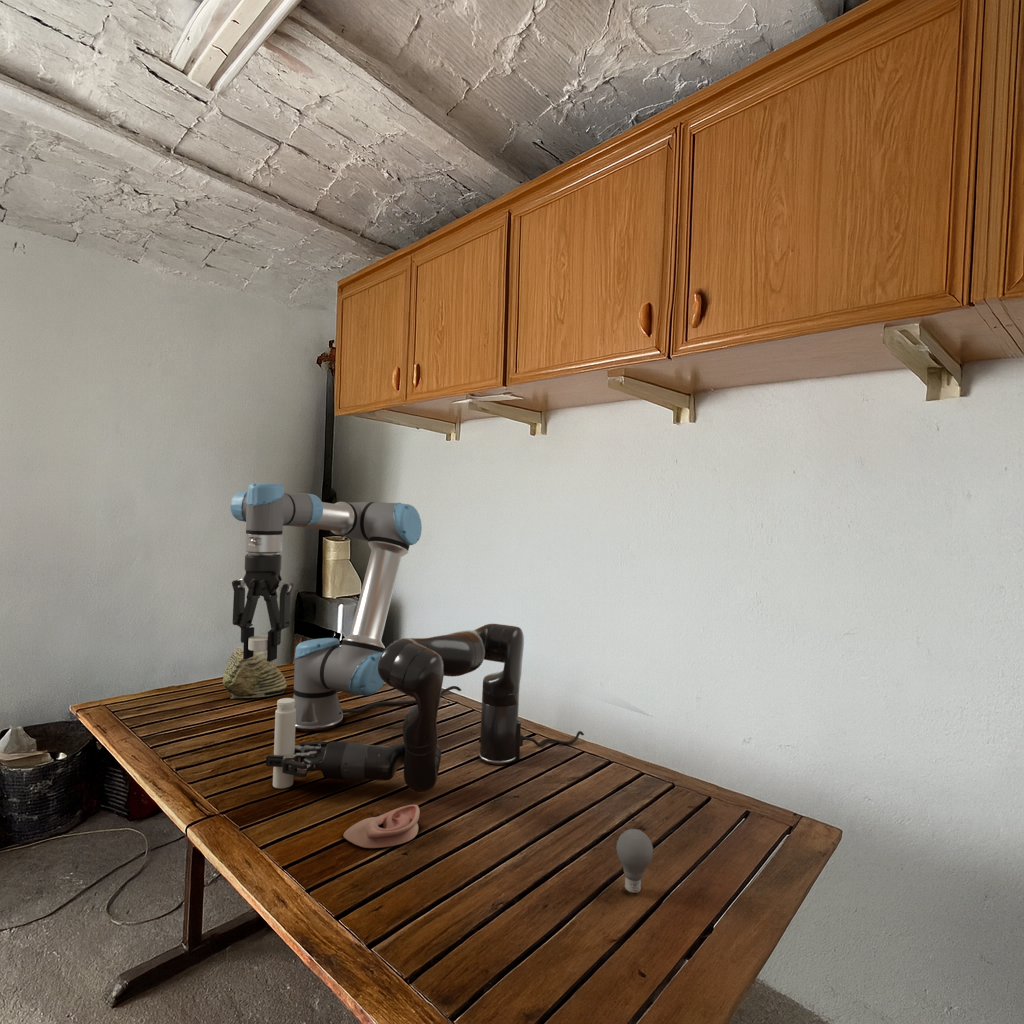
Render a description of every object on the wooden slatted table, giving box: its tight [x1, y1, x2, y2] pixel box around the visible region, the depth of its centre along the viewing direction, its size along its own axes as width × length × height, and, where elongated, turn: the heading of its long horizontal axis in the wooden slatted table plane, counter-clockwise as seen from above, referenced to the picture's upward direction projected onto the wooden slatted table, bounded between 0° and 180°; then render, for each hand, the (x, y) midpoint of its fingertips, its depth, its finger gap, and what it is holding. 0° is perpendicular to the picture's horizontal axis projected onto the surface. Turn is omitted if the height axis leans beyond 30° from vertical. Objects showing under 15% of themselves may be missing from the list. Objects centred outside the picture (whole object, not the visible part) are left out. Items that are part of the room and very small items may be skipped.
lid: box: [248, 634, 268, 652], centre depth 139 cm, size 5×5×2 cm
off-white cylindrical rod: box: [272, 697, 296, 789], centre depth 139 cm, size 4×4×18 cm
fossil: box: [222, 646, 288, 699], centre depth 198 cm, size 9×18×15 cm, turn 132°
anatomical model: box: [342, 804, 421, 849], centre depth 120 cm, size 13×4×12 cm
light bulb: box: [615, 828, 654, 894], centre depth 106 cm, size 6×6×10 cm
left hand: (260, 658), depth 139 cm, fingers closed on lid, 5 cm apart
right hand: (271, 755), depth 139 cm, fingers closed on off-white cylindrical rod, 4 cm apart
